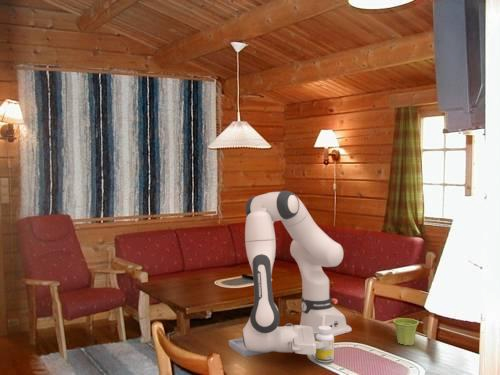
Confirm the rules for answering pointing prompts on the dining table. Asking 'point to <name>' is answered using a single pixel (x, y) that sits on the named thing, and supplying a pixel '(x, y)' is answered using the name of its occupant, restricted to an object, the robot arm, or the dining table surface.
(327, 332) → the pill bottle
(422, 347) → the dining table surface
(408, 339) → the plant pot
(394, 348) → the dining table surface
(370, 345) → the dining table surface
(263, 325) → the robot arm
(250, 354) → the dish
